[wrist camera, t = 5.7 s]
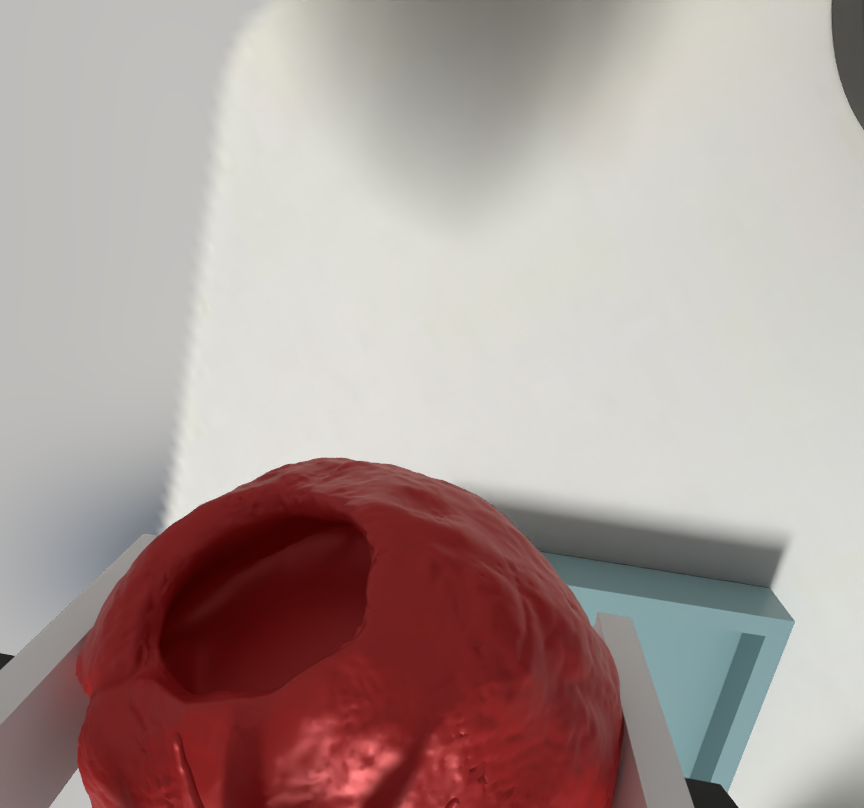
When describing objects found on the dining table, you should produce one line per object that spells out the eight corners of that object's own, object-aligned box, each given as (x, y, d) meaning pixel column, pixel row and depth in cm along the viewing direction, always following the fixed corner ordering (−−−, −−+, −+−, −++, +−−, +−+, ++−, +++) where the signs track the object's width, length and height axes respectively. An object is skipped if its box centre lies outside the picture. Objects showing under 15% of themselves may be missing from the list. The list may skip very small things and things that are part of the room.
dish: (443, 536, 30) (440, 564, 28) (769, 588, 30) (794, 621, 27) (405, 776, 35) (399, 817, 33) (682, 824, 35) (697, 869, 32)
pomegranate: (671, 590, 14) (983, 1218, 6) (405, 811, 17) (330, 1455, 8) (339, 318, 13) (35, 584, 4) (107, 611, 16) (-366, 1141, 7)
